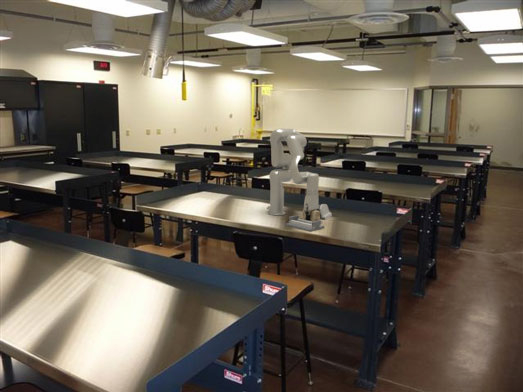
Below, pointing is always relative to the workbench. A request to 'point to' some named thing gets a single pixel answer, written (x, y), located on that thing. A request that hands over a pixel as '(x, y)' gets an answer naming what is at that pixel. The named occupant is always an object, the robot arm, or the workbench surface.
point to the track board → (304, 224)
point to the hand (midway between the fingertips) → (311, 219)
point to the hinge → (324, 211)
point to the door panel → (312, 215)
